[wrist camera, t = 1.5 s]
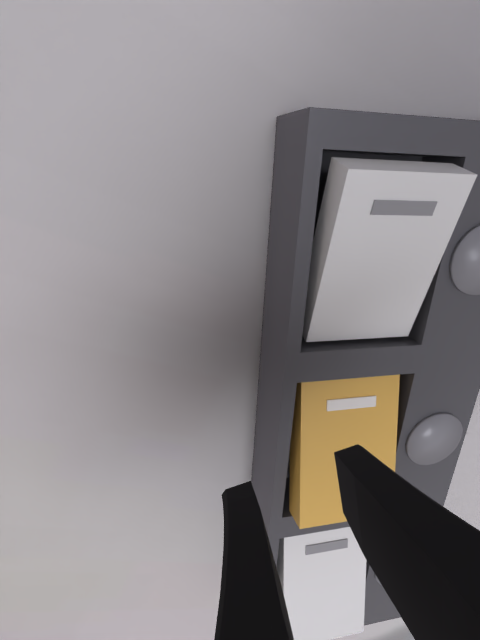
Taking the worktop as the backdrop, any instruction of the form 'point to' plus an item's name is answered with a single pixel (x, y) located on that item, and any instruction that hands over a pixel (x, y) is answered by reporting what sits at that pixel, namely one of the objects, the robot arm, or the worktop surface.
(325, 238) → the rocker
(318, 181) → the power strip
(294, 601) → the block
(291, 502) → the rocker mid
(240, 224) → the worktop surface
